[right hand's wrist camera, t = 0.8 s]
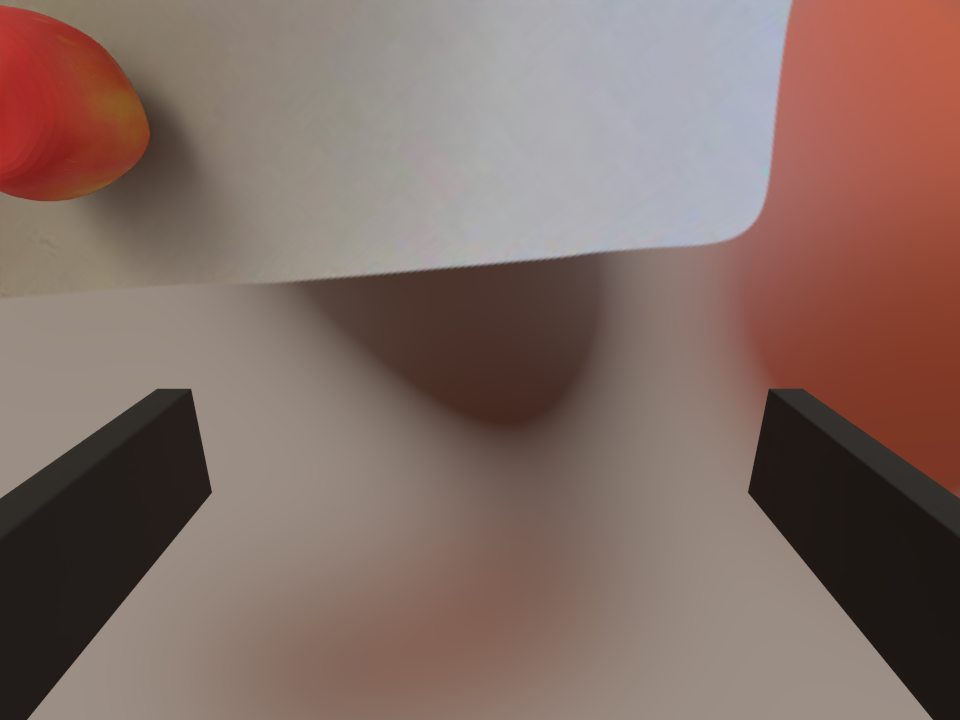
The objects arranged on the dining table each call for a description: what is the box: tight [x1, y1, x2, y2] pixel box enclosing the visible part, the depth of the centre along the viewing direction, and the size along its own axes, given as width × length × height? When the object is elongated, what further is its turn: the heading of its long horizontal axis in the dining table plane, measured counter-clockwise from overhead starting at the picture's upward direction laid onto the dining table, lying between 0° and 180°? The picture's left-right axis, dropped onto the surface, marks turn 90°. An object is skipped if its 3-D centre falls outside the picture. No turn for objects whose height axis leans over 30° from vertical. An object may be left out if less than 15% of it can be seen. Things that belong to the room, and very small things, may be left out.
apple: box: [0, 6, 150, 201], centre depth 30 cm, size 10×10×10 cm
